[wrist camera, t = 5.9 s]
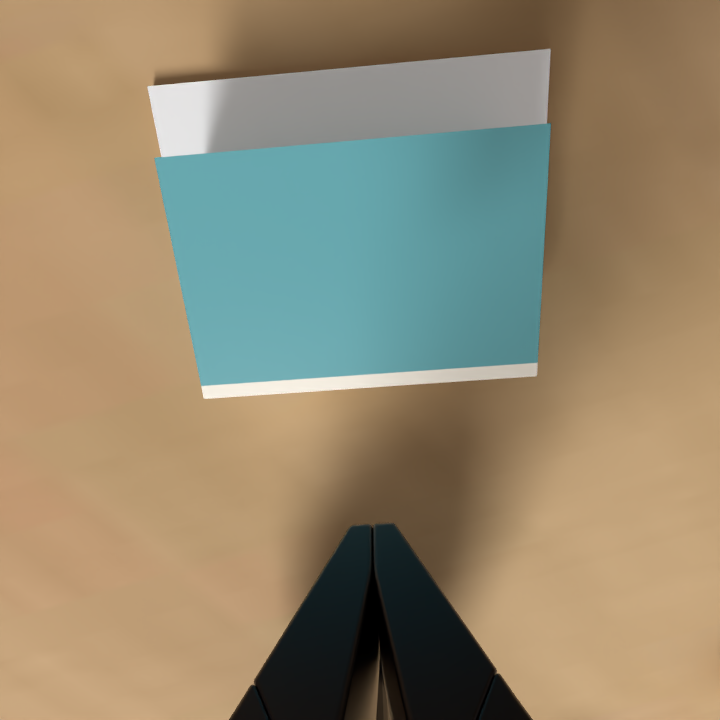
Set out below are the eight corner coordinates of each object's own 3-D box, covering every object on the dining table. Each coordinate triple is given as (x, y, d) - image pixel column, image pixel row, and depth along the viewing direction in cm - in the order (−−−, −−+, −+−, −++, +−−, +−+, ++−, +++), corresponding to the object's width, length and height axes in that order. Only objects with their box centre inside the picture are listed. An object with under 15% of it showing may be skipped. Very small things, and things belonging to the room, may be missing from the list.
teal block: (537, 376, 15) (551, 123, 12) (203, 398, 15) (154, 157, 13) (501, 345, 19) (506, 147, 16) (236, 364, 19) (202, 174, 17)
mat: (533, 304, 18) (537, 306, 18) (200, 329, 19) (196, 331, 18) (546, 53, 16) (550, 48, 15) (152, 89, 16) (147, 86, 16)
